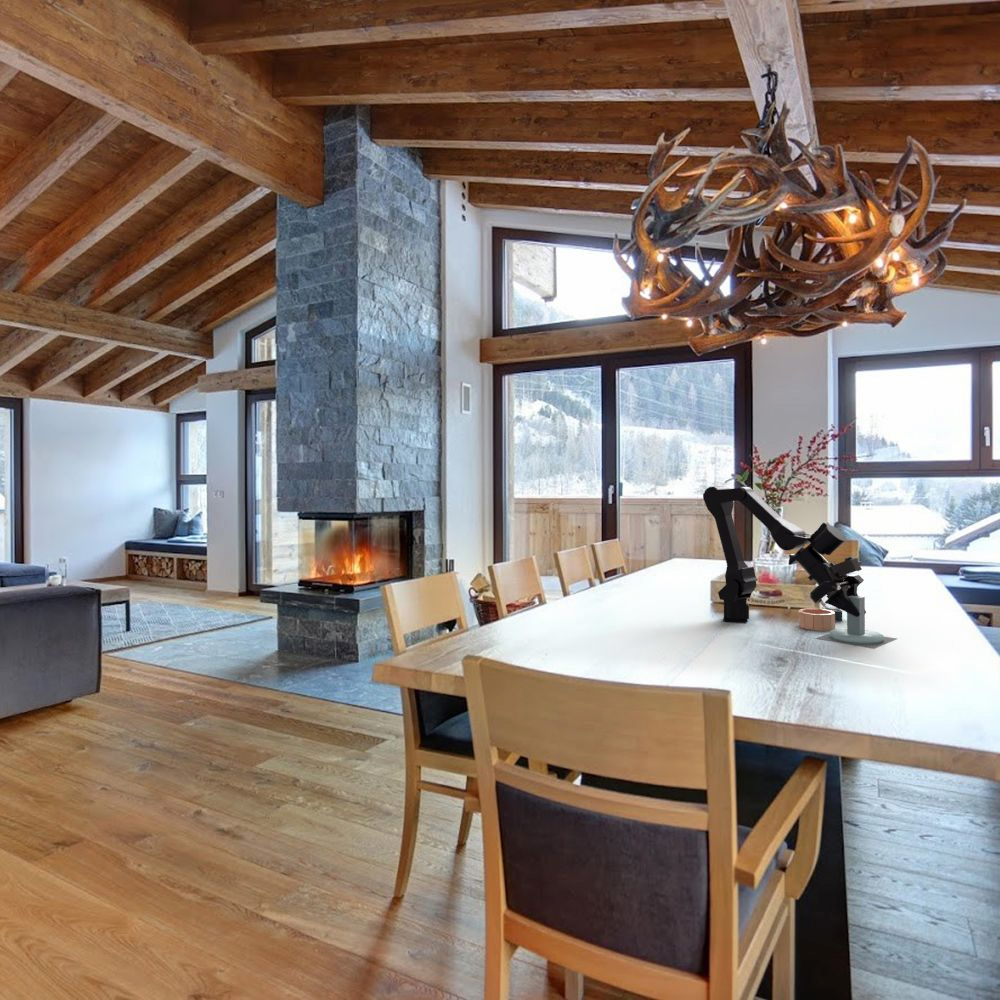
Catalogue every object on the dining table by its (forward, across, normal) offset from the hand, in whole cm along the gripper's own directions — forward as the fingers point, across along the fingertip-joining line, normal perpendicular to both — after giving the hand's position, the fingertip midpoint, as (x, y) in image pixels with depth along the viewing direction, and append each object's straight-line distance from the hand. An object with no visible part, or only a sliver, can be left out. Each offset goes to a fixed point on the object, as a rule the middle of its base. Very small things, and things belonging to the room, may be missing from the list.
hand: (861, 614), depth 168 cm
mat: (+4, 0, +6) cm, 7 cm away
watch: (-6, +19, +16) cm, 26 cm away
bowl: (-6, +6, +15) cm, 17 cm away
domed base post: (+3, 0, +5) cm, 6 cm away
